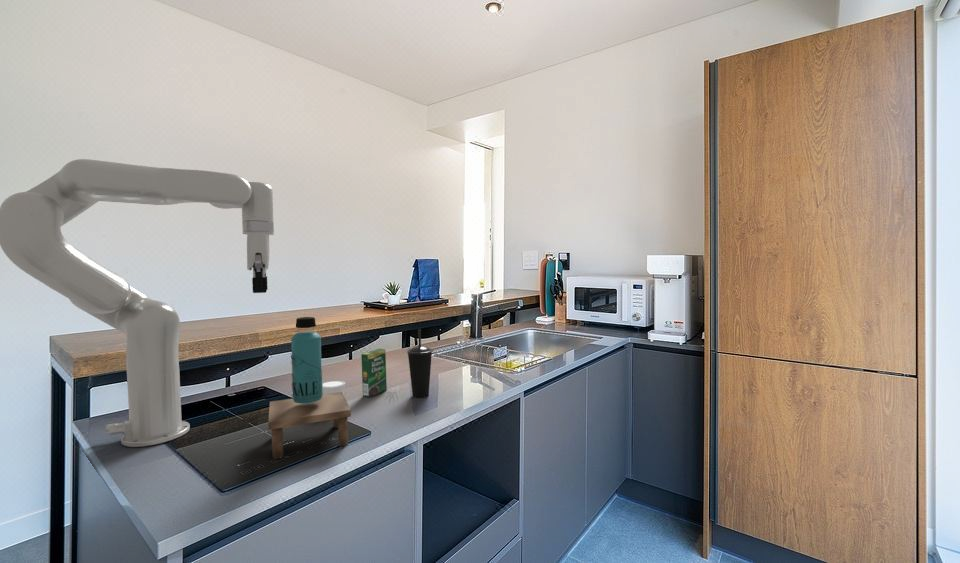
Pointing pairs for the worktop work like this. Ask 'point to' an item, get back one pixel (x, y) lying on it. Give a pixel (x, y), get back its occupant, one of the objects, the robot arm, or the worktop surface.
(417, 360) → the drinking cup
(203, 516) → the worktop surface
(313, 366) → the beverage bottle
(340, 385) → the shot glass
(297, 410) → the walnut stool
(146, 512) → the worktop surface
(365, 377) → the coffee box
